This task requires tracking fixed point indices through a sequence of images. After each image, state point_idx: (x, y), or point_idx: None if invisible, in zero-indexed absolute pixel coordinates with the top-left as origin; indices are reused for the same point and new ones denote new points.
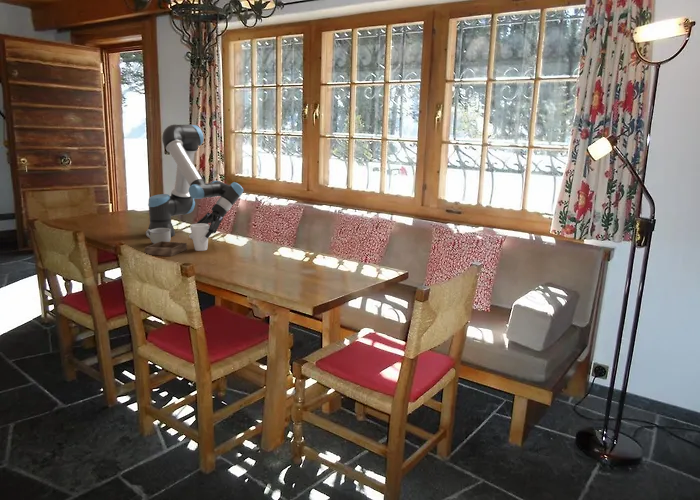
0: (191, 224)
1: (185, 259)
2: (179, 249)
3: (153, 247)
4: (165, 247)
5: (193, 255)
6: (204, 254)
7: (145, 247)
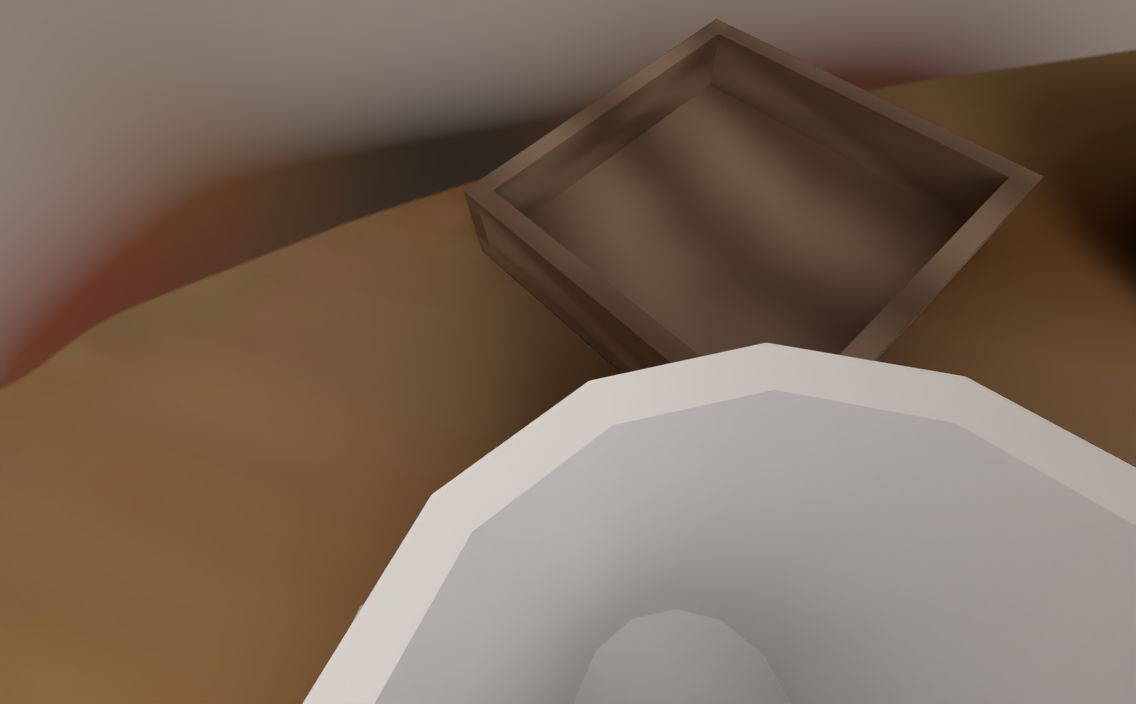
0: (1115, 457)
1: (240, 339)
2: (608, 339)
3: (813, 115)
4: (882, 246)
5: (354, 474)
6: (300, 645)
7: (710, 25)
